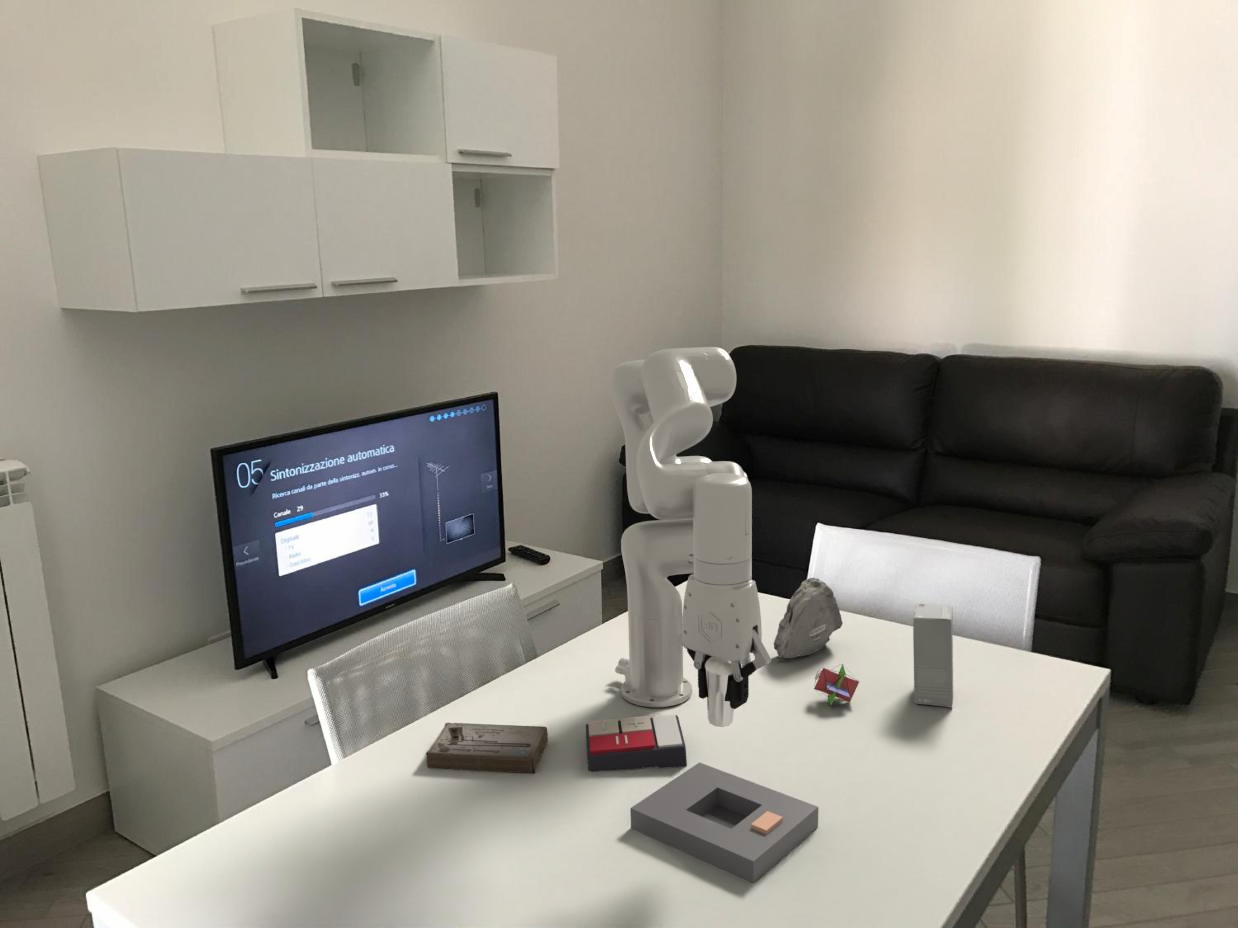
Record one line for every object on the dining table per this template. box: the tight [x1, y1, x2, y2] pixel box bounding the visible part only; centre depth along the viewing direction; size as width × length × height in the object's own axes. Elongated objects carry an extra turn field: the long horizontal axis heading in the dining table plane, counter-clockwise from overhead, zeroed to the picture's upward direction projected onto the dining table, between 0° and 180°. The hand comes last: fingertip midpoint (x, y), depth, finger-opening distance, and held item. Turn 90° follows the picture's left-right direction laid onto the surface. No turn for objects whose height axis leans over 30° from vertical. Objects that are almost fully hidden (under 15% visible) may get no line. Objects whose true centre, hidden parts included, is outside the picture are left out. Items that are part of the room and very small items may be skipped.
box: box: [425, 722, 549, 774], centre depth 163 cm, size 11×17×3 cm, turn 81°
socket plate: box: [629, 762, 819, 883], centre depth 141 cm, size 20×16×4 cm
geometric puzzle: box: [813, 663, 860, 708], centre depth 177 cm, size 7×7×8 cm
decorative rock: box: [773, 577, 843, 659], centre depth 198 cm, size 16×7×15 cm, turn 124°
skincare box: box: [912, 603, 954, 708], centre depth 177 cm, size 8×7×16 cm
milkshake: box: [705, 657, 742, 728], centre depth 136 cm, size 4×5×10 cm
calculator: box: [585, 713, 688, 773], centre depth 162 cm, size 11×4×15 cm
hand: (723, 698), depth 137 cm, fingers closed on milkshake, 4 cm apart
